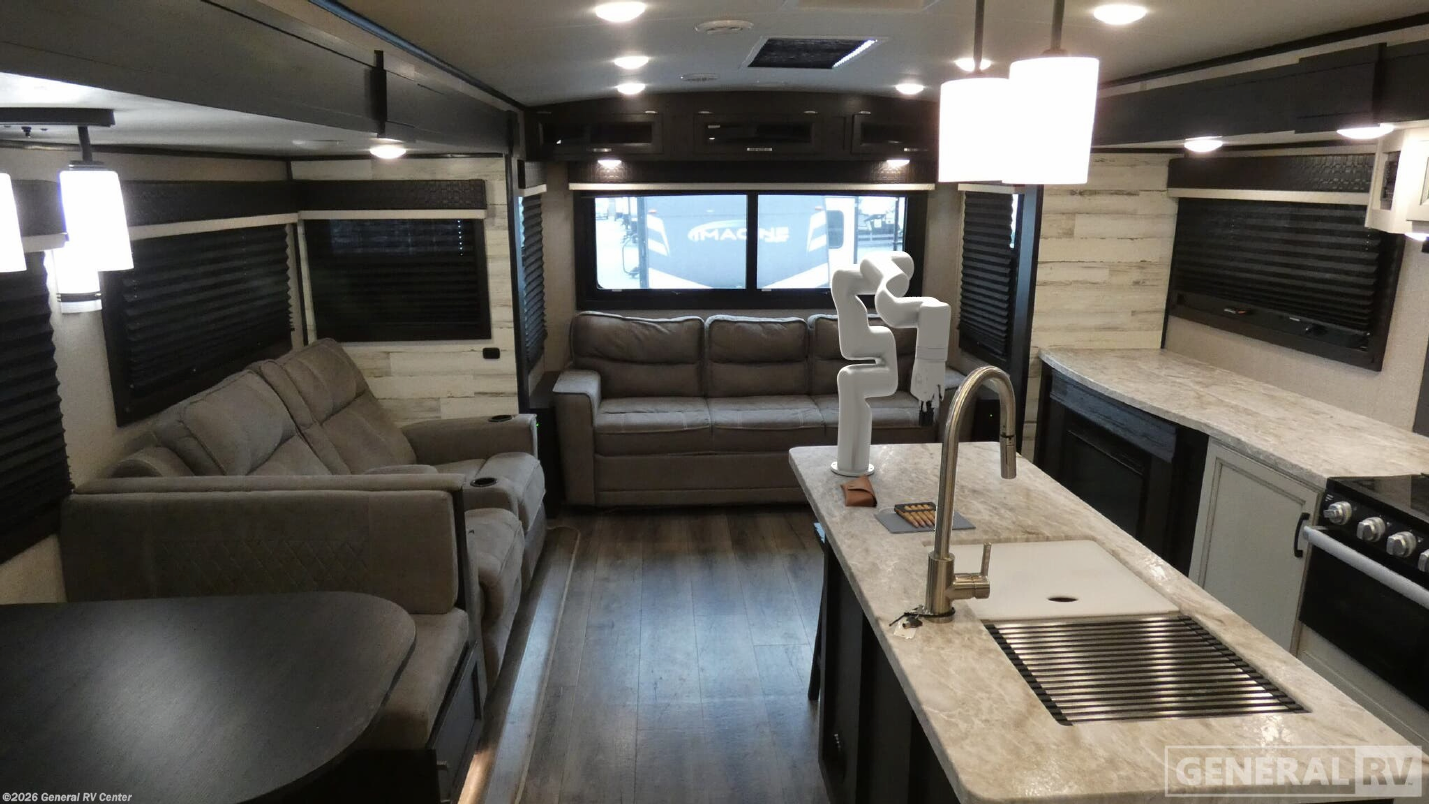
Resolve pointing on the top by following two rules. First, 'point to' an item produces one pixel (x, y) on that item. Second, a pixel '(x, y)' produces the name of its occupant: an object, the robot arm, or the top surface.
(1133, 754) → the top surface
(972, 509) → the top surface
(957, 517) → the rubber mat
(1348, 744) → the top surface
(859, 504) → the sunglasses case
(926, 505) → the ammunition clip
